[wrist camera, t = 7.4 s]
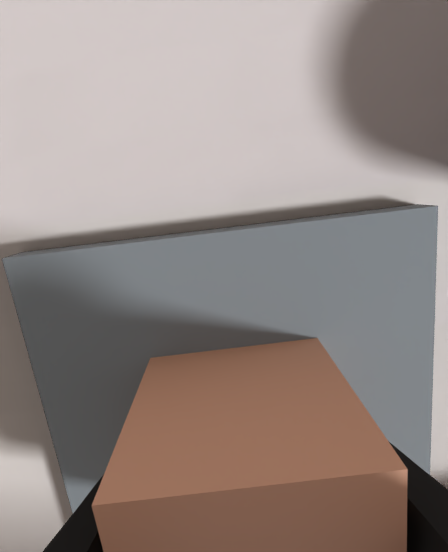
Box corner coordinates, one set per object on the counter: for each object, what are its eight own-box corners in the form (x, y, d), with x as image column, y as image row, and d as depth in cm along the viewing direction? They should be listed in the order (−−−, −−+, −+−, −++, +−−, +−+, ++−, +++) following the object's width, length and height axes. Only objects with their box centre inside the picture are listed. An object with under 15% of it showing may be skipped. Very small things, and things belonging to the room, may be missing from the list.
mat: (412, 522, 13) (427, 548, 12) (101, 557, 13) (92, 586, 12) (417, 204, 10) (437, 206, 9) (21, 252, 10) (1, 258, 10)
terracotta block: (325, 476, 11) (405, 686, 7) (175, 494, 12) (145, 715, 7) (317, 337, 10) (407, 469, 5) (150, 357, 10) (91, 505, 5)
